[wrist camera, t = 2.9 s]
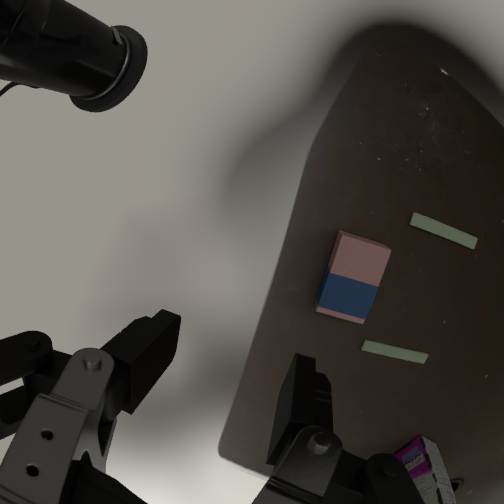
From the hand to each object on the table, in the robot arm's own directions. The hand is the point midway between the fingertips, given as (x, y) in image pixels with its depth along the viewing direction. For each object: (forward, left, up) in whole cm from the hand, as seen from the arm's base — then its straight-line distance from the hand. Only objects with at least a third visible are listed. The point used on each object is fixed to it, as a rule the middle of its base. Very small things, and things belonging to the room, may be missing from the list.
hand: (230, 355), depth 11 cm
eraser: (+7, 0, -17) cm, 19 cm away
